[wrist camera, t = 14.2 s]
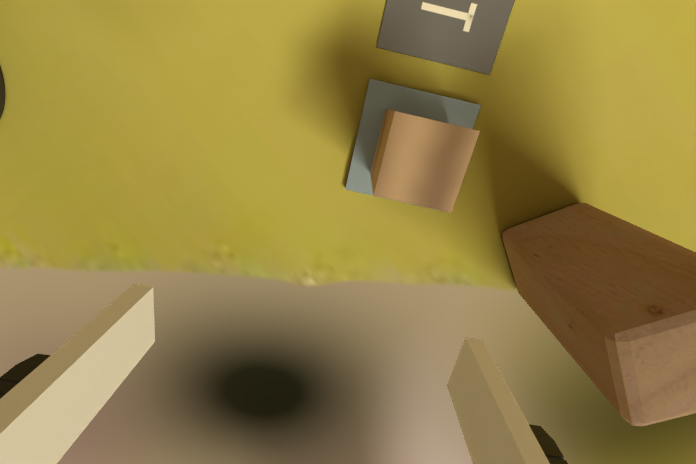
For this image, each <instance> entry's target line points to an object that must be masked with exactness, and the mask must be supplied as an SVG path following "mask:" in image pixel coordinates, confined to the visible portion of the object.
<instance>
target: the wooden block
mask: <svg viewBox="0 0 696 464" xmlns="http://www.w3.org/2000/svg"><path fill="white" fill-rule="evenodd" d="M503 243H504V246H505V249H506V252H507V256H508V259H509V262H510V266H511V269H512V272H513V276H514V279H515V282H516V286H517V289H518V292H519V294H520V295H521V296H522V297H523V299H524V300H525V301H526V302H527V304H528V305H529V306H530V307H531V308H532V309H533V311H534V312H535V313H536V314H537V315H538V316H539V318H540V319H541V320H542V322H543V323H544V324H545V325H546V326H547V328H548V329H549V330H550V331H551V332H552V333H553V335H554V336H555V337H556V338H557V340H558V341H559V342H560V343H561V344H562V346H563V347H564V348H565V349H566V350H567V352H568V353H569V354H570V355H571V356H572V358H573V359H574V360H575V361H576V362H577V364H579V366H580V367H581V368H582V369H583V371H584V372H585V373H586V374H587V375H588V377H589V378H590V379H591V380H592V381H593V383H594V384H595V385H596V386H597V387H598V389H599V390H600V391H601V392H602V393H603V395H604V396H605V397H606V398H607V399H608V401H609V402H610V403H611V404H612V405H613V407H614V408H615V409H616V410H617V411H618V413H619V414H620V415H621V416H622V417H623V418H624V419H625V420H626V421H627V422H629V423H630V424H632V425H633V426H646V425H649V424H654V423H657V422H662V421H666V420H669V419H673V418H678V417H682V416H686V415H689V414H693V413H696V252H693V251H691V250H689V249H687V248H684V247H682V246H680V245H678V244H675V243H673V242H671V241H669V240H667V239H664V238H662V237H660V236H658V235H655V234H653V233H651V232H649V231H646V230H644V229H642V228H640V227H637V226H635V225H633V224H631V223H629V222H626V221H624V220H622V219H620V218H617V217H615V216H613V215H611V214H608V213H606V212H604V211H602V210H600V209H597V208H595V207H593V206H591V205H588V204H586V203H578V204H574V205H571V206H568V207H566V208H563V209H560V210H557V211H555V212H552V213H549V214H546V215H544V216H541V217H538V218H536V219H533V220H530V221H527V222H525V223H522V224H519V225H517V226H514V227H511V228H508V229H506V230H505V231H504V232H503Z"/></svg>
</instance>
